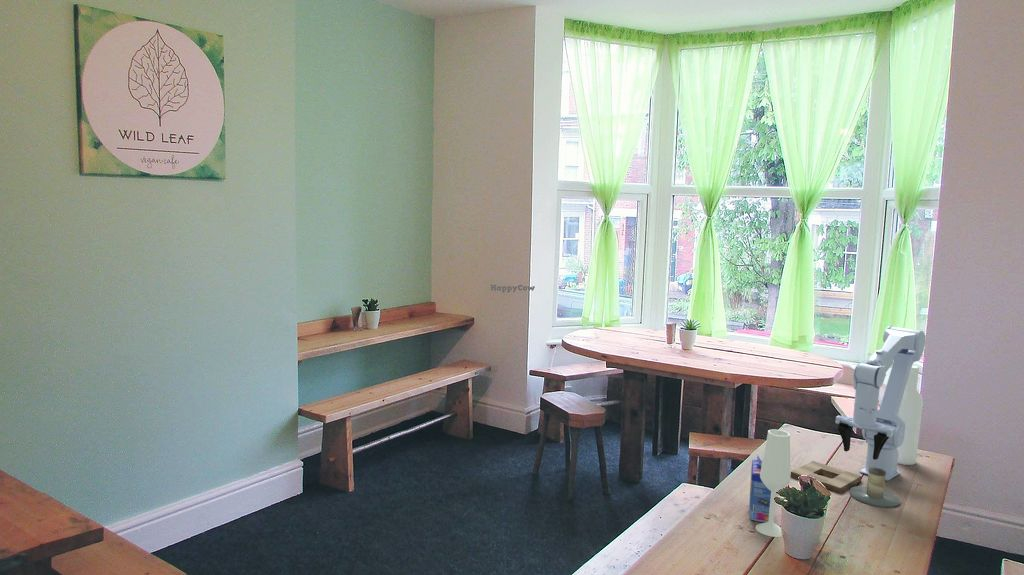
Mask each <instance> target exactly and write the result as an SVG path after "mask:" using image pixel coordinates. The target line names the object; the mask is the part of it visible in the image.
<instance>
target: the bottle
mask: <svg viewBox="0 0 1024 575" xmlns="http://www.w3.org/2000/svg"><path fill="white" fill-rule="evenodd" d="M919 374H920V368H919V366H916V365H912V368H911V370H910V374H909V377H908V380H907V384H906V387H905V391H904V394H903V398H902V401H901V405H900V408H899V411H898V416H899V417H900V418H901V419H902V420H903V421H904V423H905V426H906V427H905V432H904V433H905V434H904V440H903V443H902V445H901V446H900V447H898V448H897V449H898V452H899V454H898V463H897V464H899V465H904V466H913V465H915V464H917V459H918V450H919V449H918V448H919V440H920V432H921V431H920V430H921V423H922V422H921V421H922V417H923V416H922V413H923V405H924V400H923V396H922V394H921V393H920V392H919V390H918V379H919Z"/></svg>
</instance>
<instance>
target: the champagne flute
mask: <svg viewBox="0 0 1024 575" xmlns="http://www.w3.org/2000/svg"><path fill="white" fill-rule="evenodd" d="M761 461H762V466H761V472H760V478H761V480H762V482H763V484H764V485H765V486H766V487H767V488H768V489H769V490H770V491H771V498H770V509H769V520H768V522H761V523H759V524H756V525H755V530H756V531H757V532H758V533H760V534H762V535H764V536H767V537H774V538H781V537H782V536H781V528H782V527H780V526H779V525H778V524H776V523H775V512H776V502H775V500H774V498H775V497H776V498H777V493H776V492H778V491H779V490H780V489H782V490H784V489H785V488H786V487H788V485H789V484H790V482H791V477H790V475H791V434H790V432H787V431H785V430H782V429H768V430H767V436H766V441H765V447H764V452H763V458H762V460H761ZM783 488H784V489H783ZM780 491H781V490H780ZM780 491H779V492H780ZM779 492H778V493H779Z"/></svg>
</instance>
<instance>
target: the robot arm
mask: <svg viewBox="0 0 1024 575" xmlns="http://www.w3.org/2000/svg"><path fill="white" fill-rule="evenodd" d="M882 342H883V344H882V345H881V347H880V349H877V350H873V352H872V353H871V354H870V356H869V357H868V358H867V359H866V360H865V361H864V362H863V363H860V364H859V363H858V364H857V365H856V366H855V368H854V371H853V375H852V376H853V378H852V380H853V388H854V390H855V395H854V403H853V404H854V406H853V413H852V414H853V415H852V417H850V416H849V417H848V416H844V415H843V416H842V415H837V416H835V424H838V426H837V430H838V432H839V435H840V438H841V440H842V445H843V446H842V447H843V452H846V453H847V452H848V451H850V449H851V439H852V438H851V437H852V432H853V429H854V428H855V429H860V430H861V434H862V437H863V439H864V440H865V443H866V444H867V449H866V459H865V467H864V468H862V469H860V470H859V473H862V474H865V475H868V473H869V468H871V467H874V468H880V469H883V470H885V471H886V475H885V481H886V482H887V481H890V480H891V479H892V480H893V478H895V477H896V476H898V475H900V474H901V472H900V471H898V464H899V463H898V454H899V452H898V449H897V448H898V447H900V446H901V445H902V443H903V440H904V434H905V433H904V432H905V427H906V426H905V423H904V421H903V420H902V419H901V418H900V417H899V416H898V411H899V408H900V405H901V401H902V398H903V394H904V391H905V387H906V384H907V380H908V377H909V374H910V370H911V368H912V366H914V365H913V364H914V363H916V362H918V361H920V360H921V357H923V356H922V355H923V353H924V349H925V346H926V334H925V332H924V331H923V330H921V329H920V330H916V329H912V328H911V329H910V328H903V327H897V326H896V327H895V326H892V325H888V326H887V327H886V328H885V329H884V332H883V336H882ZM890 368H891V369H890ZM889 369H890V372H889V376H888V379H887V383H886V387H885V390H884V394H883V397H882V399H881V404H880V406H879V397H880V388H881V387H882V386H883V384H884V381H885V378H886V376H887V372H888V371H889ZM878 406H879V408H878Z"/></svg>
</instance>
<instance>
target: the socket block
mask: <svg viewBox="0 0 1024 575" xmlns="http://www.w3.org/2000/svg"><path fill="white" fill-rule="evenodd" d="M818 474H819V475H818ZM821 474H822V475H821ZM801 475H807V476H811V477H814V478H816V479H817V480H818V481H820V482H821V483H822V484H823V485H824V486H825V487H826V488H827V489H826V488H825V489H826V490H829V489H830V491H833V492H835V491H836V492H835V493H838V494H842V493H843V492H845V491H846V490H848V489H849V488H850V489H851V488H852V487H854V486H855V485H856V484H857V485H858V483H860V482H862V477H863V476H862V475H860V474H857V473H854V472H850V471H847V470H843V469H841V468H838V467H834V466H831V465H828V464H825V463H821V462H819V461H815V460H812V461H810V462H808V463H805V464H804V465H802V466H799V467H798V468H795V469H793V470H790V478H794V479H796V478H797V480H799V479H798V477H799V476H801ZM823 475H824V476H823ZM826 476H827V477H826ZM830 477H831V478H830ZM833 477H834V478H833Z"/></svg>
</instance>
